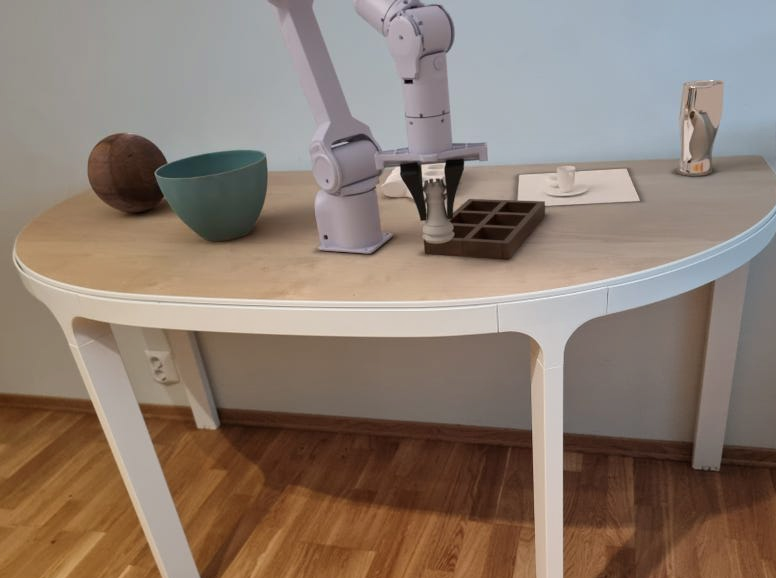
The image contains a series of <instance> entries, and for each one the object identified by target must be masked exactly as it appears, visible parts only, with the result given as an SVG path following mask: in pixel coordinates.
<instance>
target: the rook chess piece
mask: <svg viewBox="0 0 776 578" xmlns="http://www.w3.org/2000/svg"><path fill="white" fill-rule="evenodd" d="M424 184H425V185H424V187H423V189H422V190H423V191H424V193H425V194H426V199H425V201H426V202H425V203H426V215H427V216H426V221H424V225H423V226H422V230H421V232H423V235H422V238H423V241H424V240H425V241H426V242H428V243H434V244H436V243H444V242H447V241H450V240H451V239H452V238H453V236H454V232H453V231H452V230H453V228H454V227H453V224H451V223H450V222H449V221H450V219H448V218H447V207H446V204H445V201H446V200H447V197H445V195H444V191H445V189H446V185H445V184H444V183H443V179H440V178H436V182H433V179H429V183H428V180H426V181H425V182H424Z"/></svg>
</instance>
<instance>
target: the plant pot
mask: <svg viewBox="0 0 776 578" xmlns="http://www.w3.org/2000/svg"><path fill="white" fill-rule="evenodd" d="M167 163H168V164H166V165H163V166H161V167H160V168H158V169H157V170H156V171H155V177H156V180H157V182H158V185H159V187H160V189H161V191H162V193H163V195H164V197H163V198H164V199H165V200H166V202H167V203H168V206H170V208H171V209H172V210H173V212H174V213H175V214H176V216H177V217H178V218H179V219H180V220H181V221H182V222H183V223H184V224H185V225H186V226H187V227H188V228H189V229H190V230H192V231H193V232H194V233H195V234H196V235H198V236H200V238H202V239H203V240H206V241H208V242H225V241H231V240H235V239H238V238H241V237H244V236H246V235H248V234H249V233H250V232H252V230H253V229H254V227H255V226H256V224H257V222H258V220H259V218H260V215H261V214H262V210H263V208H264V204H265V201H266V196H267V191H268V181H269V180H268V179H269V178H268V177H269V176H268V175H269V174H268V172H269V171H268V169H269V168H268V159H267V154H266V153H265V152H264V151H261V150H256V149H229V150H220V151H213V152H207V153H201V154H196V155H191V156H187V157H183V158H179V159H176V160H174V161H170V162H167Z"/></svg>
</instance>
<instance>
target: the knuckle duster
mask: <svg viewBox="0 0 776 578" xmlns="http://www.w3.org/2000/svg"><path fill="white" fill-rule="evenodd" d="M421 166H422V182H423V187H424V185H425V184H424V182H425V181H426V180H428V183H429V179H433V182H436V178H440V179H443V183H444V184H445V185H446V181H445V172H444V168H445V163H439V164H427V165H421ZM464 174H465V172H464V171H463V173H462V175H464ZM461 182H462V181H461V180H460V182H459V183H461ZM380 191H381V193H382V194H383V195H384V196H387V197H390V198H397V199H398V198H399V199H400V198H410V199H412V200H413V201H414V199H413V197H412V195H411V193H410V191H409V189H408V188H407V186H406V185H405V183H404V182H403V180H402V178H401V176H400V167H394V168H393V169H392V170H391V173H390V174H389V175H388V176H387V177H386V180H385V181H384V183H382V185H380ZM423 193H424V191H423ZM445 195H447V191H446V189H445V191H444V196H445ZM424 199H426V194H425V193H424ZM425 203H427V202H426V201H425Z"/></svg>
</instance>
